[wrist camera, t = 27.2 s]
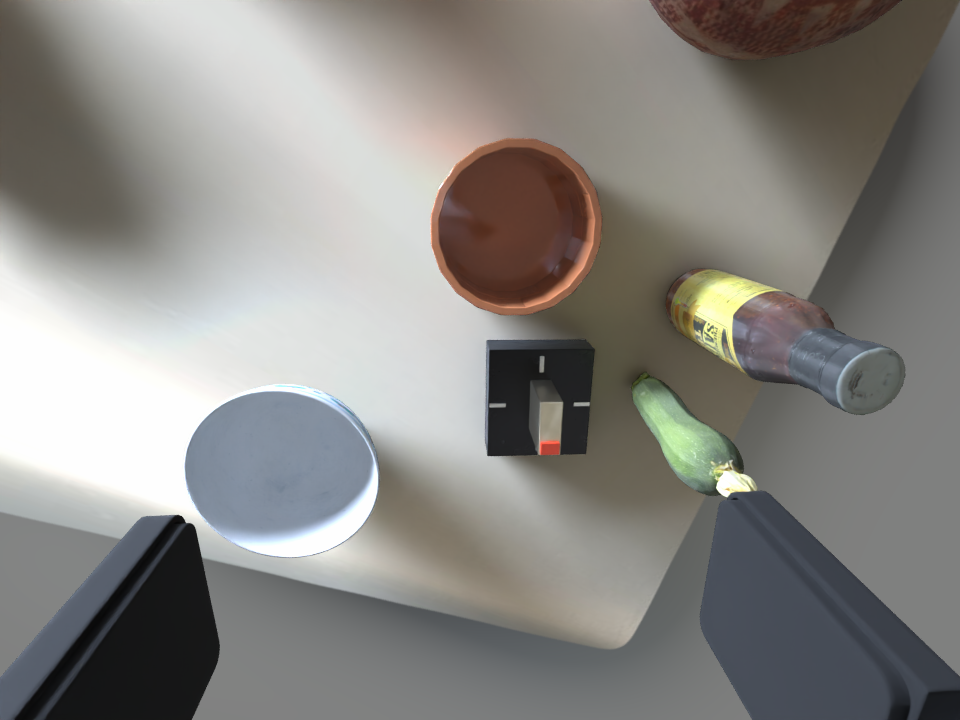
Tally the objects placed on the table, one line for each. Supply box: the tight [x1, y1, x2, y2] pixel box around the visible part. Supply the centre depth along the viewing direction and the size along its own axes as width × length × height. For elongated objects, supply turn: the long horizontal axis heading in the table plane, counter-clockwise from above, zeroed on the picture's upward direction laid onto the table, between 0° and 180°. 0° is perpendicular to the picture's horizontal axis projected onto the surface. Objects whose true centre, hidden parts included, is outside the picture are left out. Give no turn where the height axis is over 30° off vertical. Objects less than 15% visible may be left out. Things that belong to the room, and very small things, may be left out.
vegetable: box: [631, 372, 757, 497], centre depth 40 cm, size 4×4×20 cm
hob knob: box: [529, 380, 563, 456], centre depth 44 cm, size 5×2×5 cm, turn 0°
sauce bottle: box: [666, 269, 905, 415], centre depth 38 cm, size 7×6×20 cm
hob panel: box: [485, 340, 595, 456], centre depth 47 cm, size 10×9×3 cm
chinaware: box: [184, 385, 380, 558], centre depth 45 cm, size 15×15×8 cm
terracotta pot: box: [431, 138, 602, 315], centre depth 41 cm, size 12×12×7 cm
